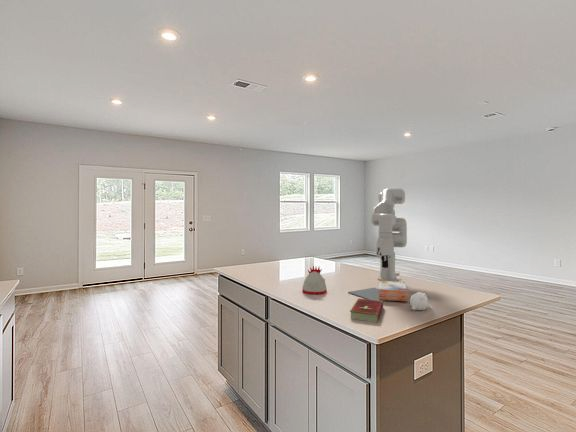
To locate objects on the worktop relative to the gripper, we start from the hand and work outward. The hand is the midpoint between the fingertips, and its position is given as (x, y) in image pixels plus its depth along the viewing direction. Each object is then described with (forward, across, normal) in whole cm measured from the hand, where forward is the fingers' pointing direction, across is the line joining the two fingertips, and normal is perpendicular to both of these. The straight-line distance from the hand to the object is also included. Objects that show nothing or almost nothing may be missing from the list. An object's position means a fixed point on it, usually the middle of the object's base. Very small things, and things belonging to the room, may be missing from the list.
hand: (385, 267), depth 184 cm
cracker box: (+11, -4, +2) cm, 12 cm away
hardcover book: (+15, +35, +22) cm, 44 cm away
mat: (+14, +9, +2) cm, 17 cm away
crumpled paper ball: (+15, +8, +30) cm, 35 cm away
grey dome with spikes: (+15, +34, -21) cm, 43 cm away
